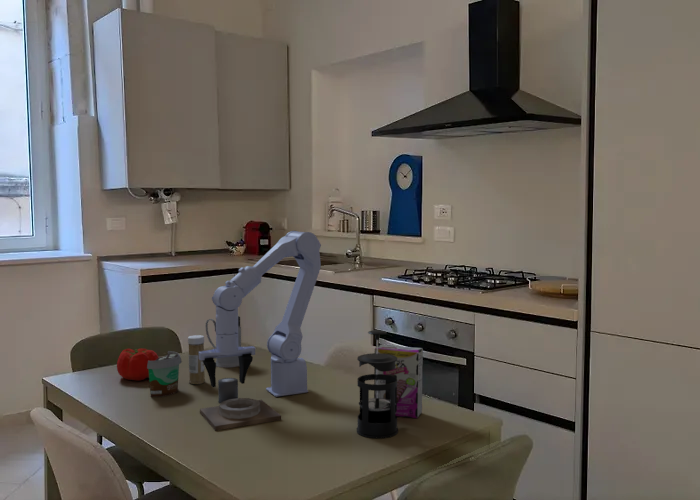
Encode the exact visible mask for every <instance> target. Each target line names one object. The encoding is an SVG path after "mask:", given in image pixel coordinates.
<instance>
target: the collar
mask: <svg viewBox="0 0 700 500" xmlns="http://www.w3.org/2000/svg"><path fill="white" fill-rule="evenodd" d="M199 414H200V415H201V416H202V417H203V418H204V419H205V421H206V422H207V423H208V424H209V425H210V426H211V427H212V428H213V430H214V431H220V430H227V429H233V428H238V427H240V428H241V427H246V426H253V425H258V424H265V423H269V422H276V421H281V420H282V415H281V414H280V413H279V412H278V411H276V410H275V409H274V408H272V407H271V406H270V405H269V404H268V403H266V402H265V401H264V400H263V399H259V400H257V399H254V398H250V397H238V398H236V399H229V400H226V401H223V402H221V403H219V405H216V406H210V407H202V408H199Z"/></svg>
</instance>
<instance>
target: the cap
mask: <svg viewBox="0 0 700 500" xmlns="http://www.w3.org/2000/svg"><path fill="white" fill-rule="evenodd" d="M238 382H239V379H238V378H235V377H224V378H221V379H218V383H217V384H218V386H217V387H218V391H217V392H218V395H217V396H218V403H219V404H221V402H223V401H226V400H229V399H236V398H239V383H238Z"/></svg>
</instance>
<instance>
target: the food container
mask: <svg viewBox="0 0 700 500" xmlns="http://www.w3.org/2000/svg"><path fill="white" fill-rule="evenodd" d="M158 357H159V358H158V359H156V360H155V361H148V363H147V369H148V370H149V378H148V379H149V381H148V382H149V391H150V394H149V395H150V397H151V398H159V397H161V398H162V397H167V396H172V395H175V394H176V393H178V390H179V389H178V388H179V374H180V372H179V371H180V364H182V362H183V361H182V358H181V355H180V353H179V352H176V351H174V350H173V351H171V350H168V351H167V354H166V355H164V356H158Z"/></svg>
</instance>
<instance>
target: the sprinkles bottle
mask: <svg viewBox="0 0 700 500" xmlns="http://www.w3.org/2000/svg"><path fill="white" fill-rule="evenodd" d="M187 344H188V372H189V376H188V377H189V381H188V383H189V384H190V385H202V384H204V383H205V382H206V379H205V378H206V377H205V375H206V374H205V369H206V367H205V365H204V363H203V361H201V360H199V352H200V351H205V349H204V348H205V347H204V345H205V336H204V335H203V334H202V335H200V334H194V335H189V336H188V337H187Z"/></svg>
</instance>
